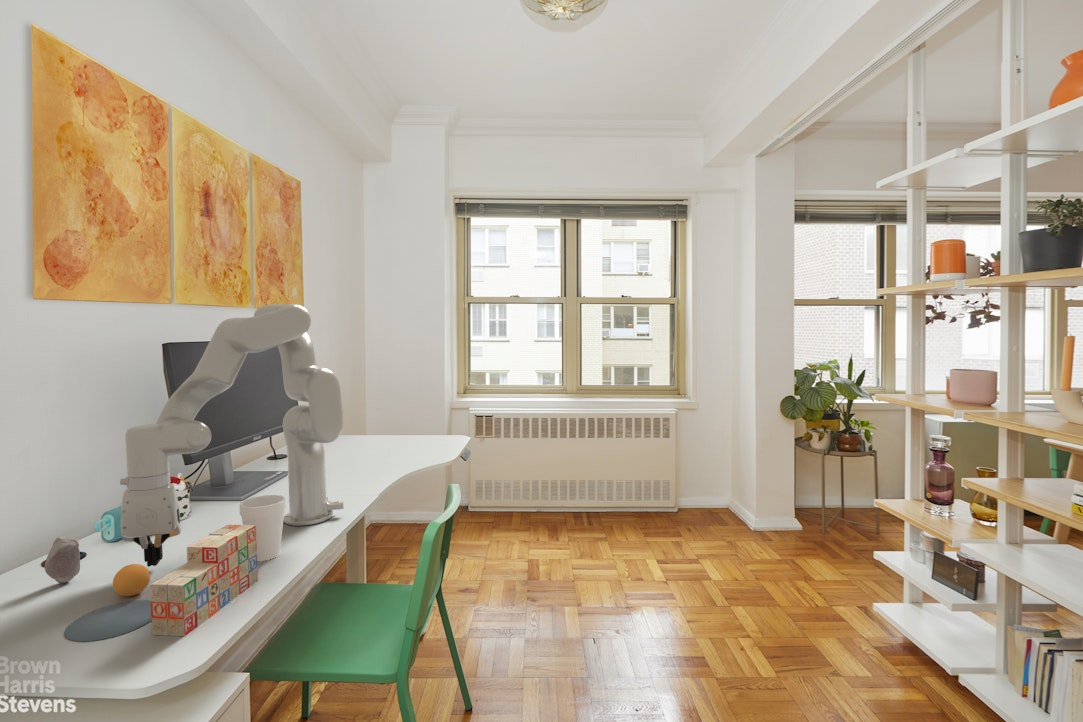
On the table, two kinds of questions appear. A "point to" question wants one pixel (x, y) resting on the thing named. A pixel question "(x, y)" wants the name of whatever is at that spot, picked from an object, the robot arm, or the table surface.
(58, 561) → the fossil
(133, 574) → the ball
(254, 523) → the foam cup
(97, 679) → the table surface
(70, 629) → the disc
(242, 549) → the stack of blocks
